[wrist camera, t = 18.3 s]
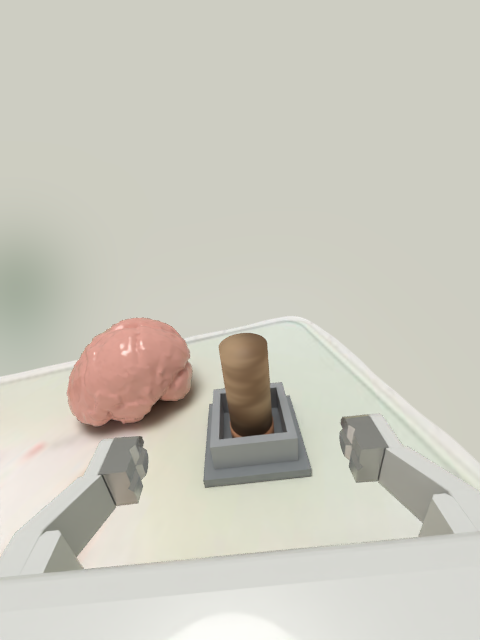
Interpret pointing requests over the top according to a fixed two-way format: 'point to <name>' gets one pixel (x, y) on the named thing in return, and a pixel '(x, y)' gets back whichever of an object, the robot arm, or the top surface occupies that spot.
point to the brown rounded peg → (247, 384)
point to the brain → (129, 372)
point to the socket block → (254, 445)
